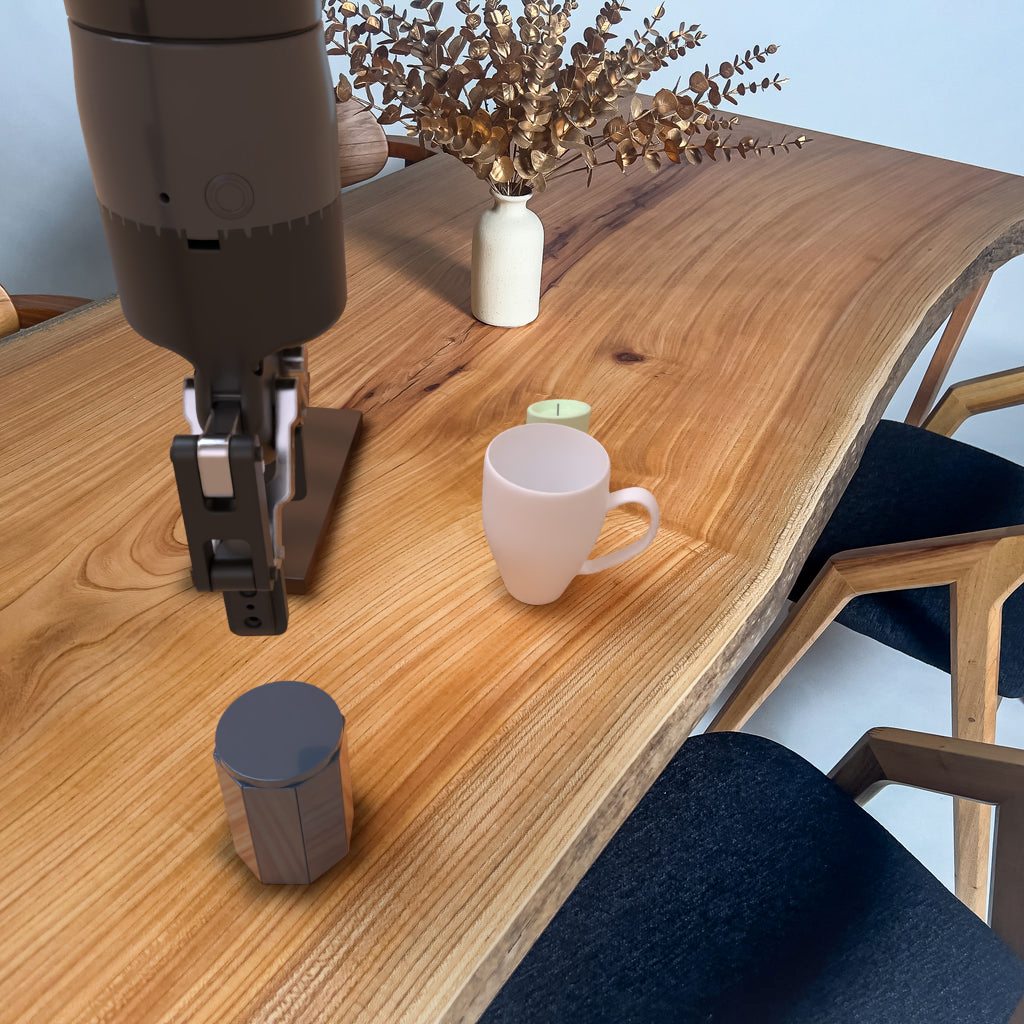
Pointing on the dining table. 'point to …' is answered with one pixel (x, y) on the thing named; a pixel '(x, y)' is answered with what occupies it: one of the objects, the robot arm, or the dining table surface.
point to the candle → (561, 413)
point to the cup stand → (317, 491)
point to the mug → (551, 508)
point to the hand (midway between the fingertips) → (273, 557)
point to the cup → (286, 781)
